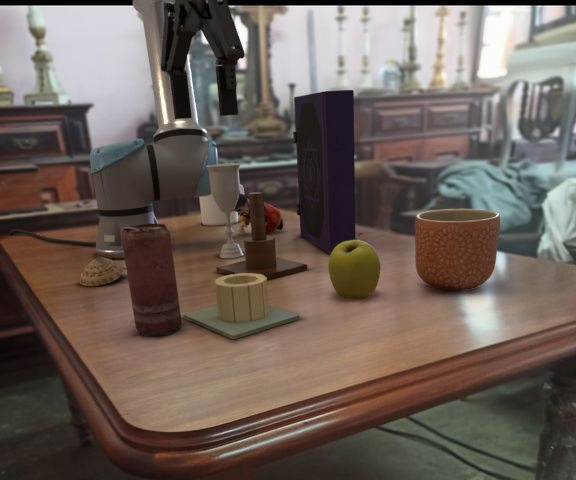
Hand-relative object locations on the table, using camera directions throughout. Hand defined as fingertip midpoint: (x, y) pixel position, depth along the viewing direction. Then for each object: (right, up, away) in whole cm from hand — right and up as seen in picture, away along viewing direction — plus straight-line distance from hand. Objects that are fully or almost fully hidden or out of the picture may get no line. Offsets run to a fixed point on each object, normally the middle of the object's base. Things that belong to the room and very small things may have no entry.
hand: (205, 117), depth 91 cm
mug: (-5, -1, +72) cm, 72 cm away
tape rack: (+8, -22, +17) cm, 29 cm away
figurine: (+5, -8, +52) cm, 53 cm away
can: (-5, -33, -11) cm, 35 cm away
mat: (+6, -32, -8) cm, 33 cm away
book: (+21, -13, +37) cm, 45 cm away
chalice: (+1, -17, +31) cm, 35 cm away
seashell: (-21, -23, +17) cm, 36 cm away
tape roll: (+7, -31, -8) cm, 33 cm away
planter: (+39, -26, +1) cm, 47 cm away
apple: (+23, -28, -1) cm, 36 cm away
